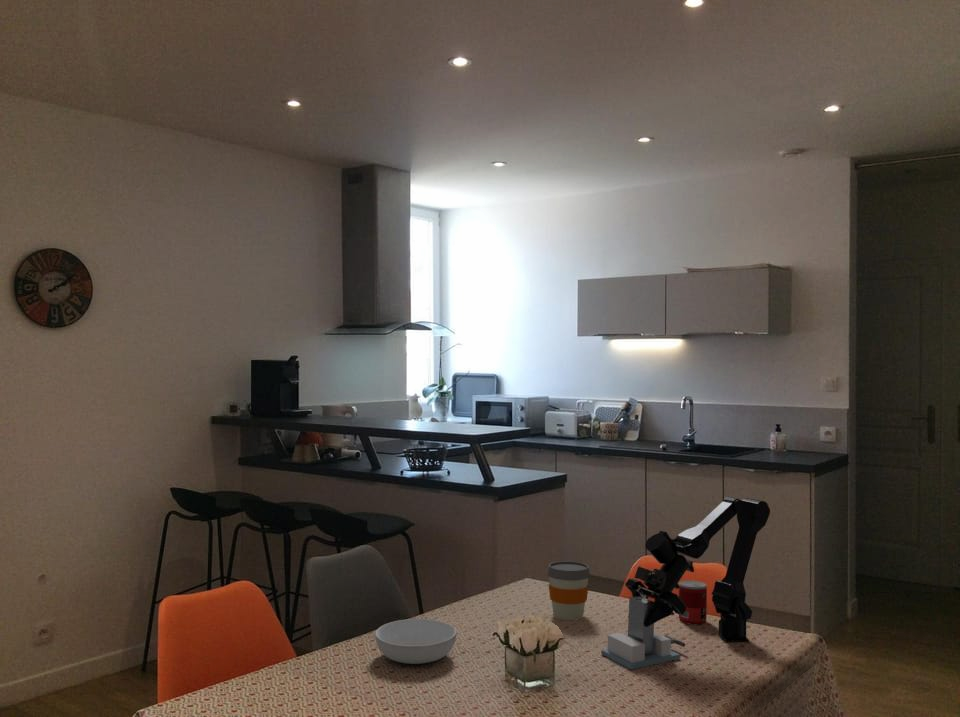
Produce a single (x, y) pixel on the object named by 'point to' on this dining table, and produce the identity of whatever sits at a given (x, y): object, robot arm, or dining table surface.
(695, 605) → the canned food
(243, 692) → the dining table surface
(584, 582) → the reusable coffee cup
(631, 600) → the steel bar
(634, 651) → the vise
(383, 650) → the serving bowl
